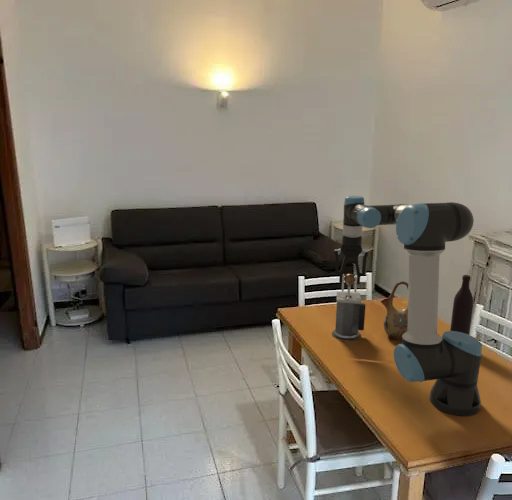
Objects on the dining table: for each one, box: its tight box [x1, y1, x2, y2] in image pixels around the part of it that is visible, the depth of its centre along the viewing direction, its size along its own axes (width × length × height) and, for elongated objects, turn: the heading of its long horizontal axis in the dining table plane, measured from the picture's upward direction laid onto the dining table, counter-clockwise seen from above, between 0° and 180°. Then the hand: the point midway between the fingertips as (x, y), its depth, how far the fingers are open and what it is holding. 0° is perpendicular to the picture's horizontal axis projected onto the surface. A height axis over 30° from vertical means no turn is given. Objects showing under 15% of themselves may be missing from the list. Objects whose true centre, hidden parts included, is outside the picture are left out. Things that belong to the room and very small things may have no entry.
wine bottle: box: [449, 274, 474, 335], centre depth 193 cm, size 7×7×30 cm
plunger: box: [344, 273, 355, 298], centre depth 202 cm, size 7×7×24 cm
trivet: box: [331, 330, 362, 342], centre depth 206 cm, size 12×12×1 cm
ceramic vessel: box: [380, 281, 408, 341], centre depth 201 cm, size 16×9×25 cm, turn 90°
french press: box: [333, 291, 366, 340], centre depth 203 cm, size 10×12×17 cm
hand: (348, 290), depth 201 cm, fingers closed on plunger, 4 cm apart
